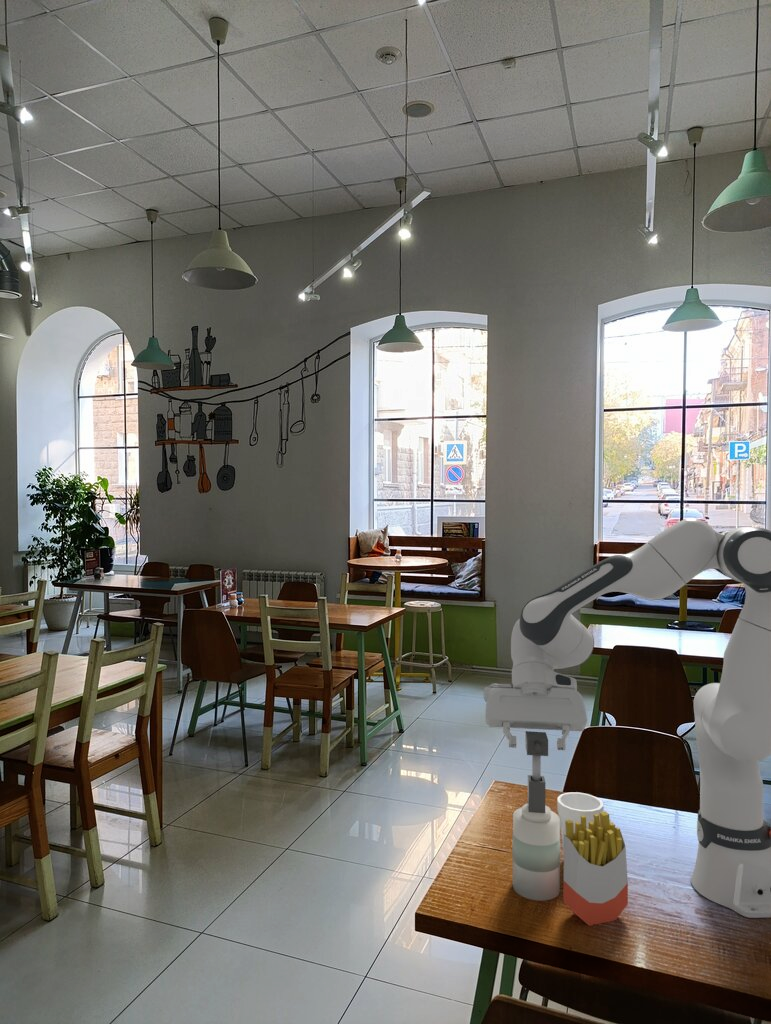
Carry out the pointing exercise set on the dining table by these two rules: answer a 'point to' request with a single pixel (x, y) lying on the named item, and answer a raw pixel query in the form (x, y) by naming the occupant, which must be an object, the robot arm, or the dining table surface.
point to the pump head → (536, 751)
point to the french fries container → (595, 870)
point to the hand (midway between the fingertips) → (536, 747)
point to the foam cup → (577, 809)
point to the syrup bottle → (536, 846)
